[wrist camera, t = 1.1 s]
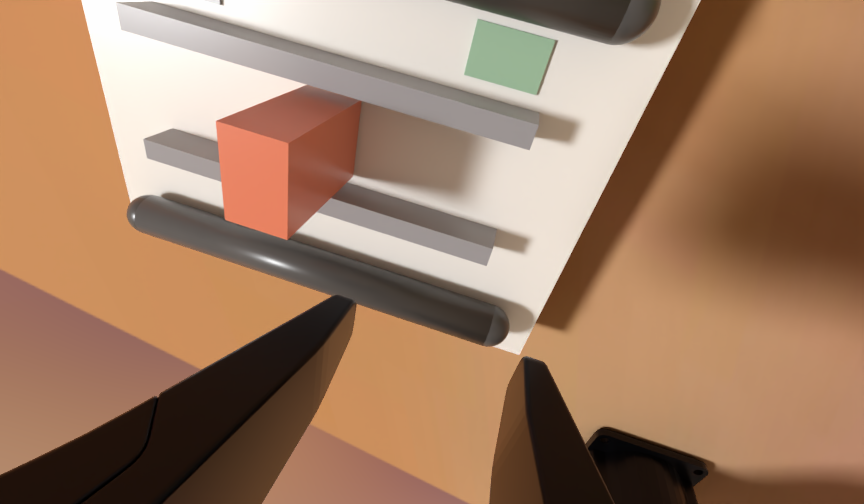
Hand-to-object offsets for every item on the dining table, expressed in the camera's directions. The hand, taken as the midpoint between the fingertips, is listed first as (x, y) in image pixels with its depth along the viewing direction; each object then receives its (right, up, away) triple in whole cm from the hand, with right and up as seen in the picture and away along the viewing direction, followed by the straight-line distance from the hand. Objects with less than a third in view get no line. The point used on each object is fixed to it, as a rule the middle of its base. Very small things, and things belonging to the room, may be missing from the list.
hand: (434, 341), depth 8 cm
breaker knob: (-4, +6, +7) cm, 10 cm away
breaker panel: (-3, +8, +9) cm, 13 cm away
